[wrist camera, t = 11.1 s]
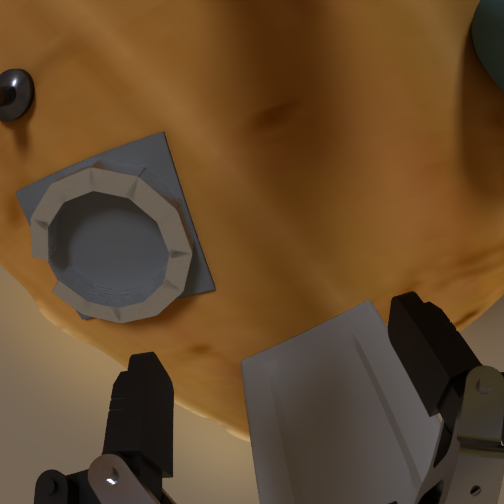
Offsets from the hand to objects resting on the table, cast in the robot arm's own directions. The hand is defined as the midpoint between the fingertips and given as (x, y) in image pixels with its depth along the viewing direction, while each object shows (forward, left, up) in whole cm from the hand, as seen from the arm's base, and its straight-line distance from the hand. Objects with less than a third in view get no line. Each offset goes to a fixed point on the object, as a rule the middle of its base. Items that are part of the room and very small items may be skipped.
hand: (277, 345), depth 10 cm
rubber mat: (+4, -14, -21) cm, 26 cm away
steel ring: (+3, -13, -21) cm, 25 cm away
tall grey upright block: (+30, +5, -22) cm, 37 cm away
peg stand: (-14, -19, -22) cm, 32 cm away
